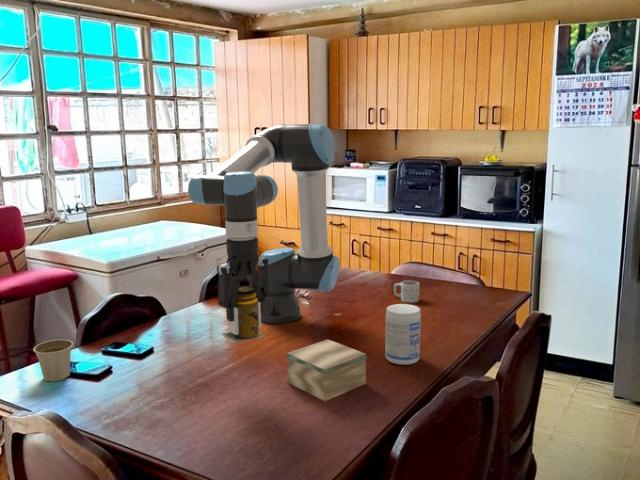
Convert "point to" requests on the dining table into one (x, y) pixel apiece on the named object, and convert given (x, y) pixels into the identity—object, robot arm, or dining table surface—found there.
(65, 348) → the flower pot
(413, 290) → the mug
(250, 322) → the condiment
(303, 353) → the wooden box
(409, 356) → the supplement tub
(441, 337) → the dining table surface
